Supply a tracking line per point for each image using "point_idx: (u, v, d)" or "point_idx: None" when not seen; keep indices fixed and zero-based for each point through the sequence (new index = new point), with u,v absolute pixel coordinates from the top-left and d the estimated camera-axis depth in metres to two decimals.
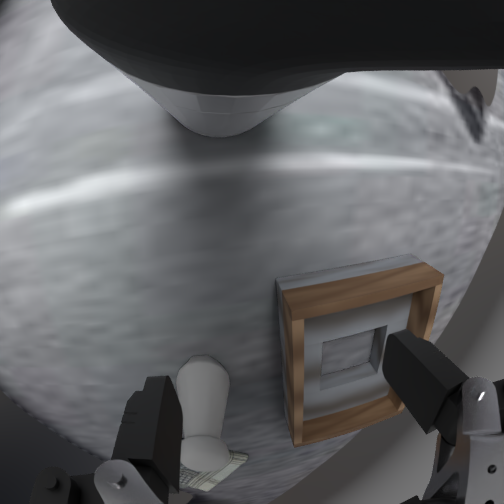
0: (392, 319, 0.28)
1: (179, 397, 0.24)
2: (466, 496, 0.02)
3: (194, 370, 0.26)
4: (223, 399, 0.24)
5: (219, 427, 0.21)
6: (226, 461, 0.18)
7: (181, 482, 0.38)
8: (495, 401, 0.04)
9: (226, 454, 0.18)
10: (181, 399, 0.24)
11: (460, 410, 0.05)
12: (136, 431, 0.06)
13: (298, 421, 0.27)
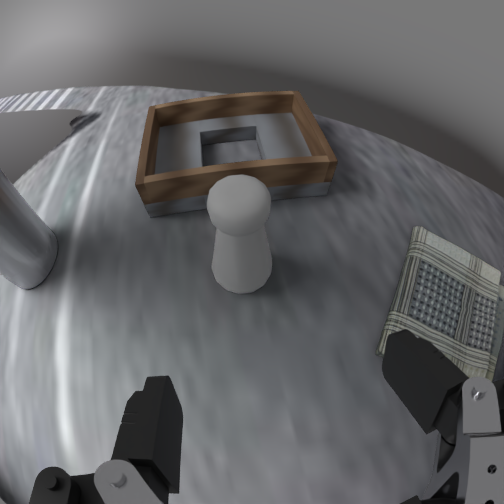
0: (195, 130, 0.37)
1: (234, 274, 0.23)
2: (466, 496, 0.02)
3: (213, 267, 0.26)
4: None
5: None
6: None
7: (492, 308, 0.25)
8: (495, 401, 0.04)
9: None
10: (228, 268, 0.23)
11: (460, 410, 0.05)
12: (136, 431, 0.06)
13: (280, 161, 0.29)
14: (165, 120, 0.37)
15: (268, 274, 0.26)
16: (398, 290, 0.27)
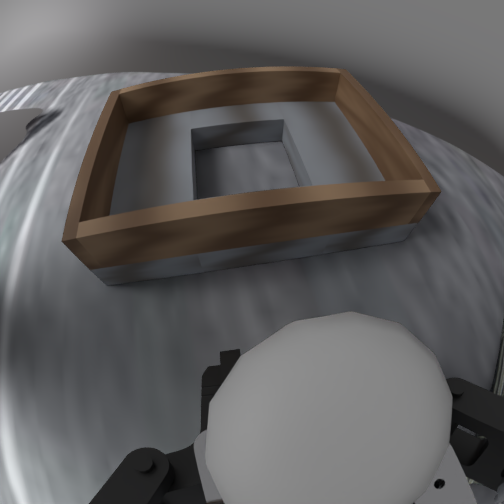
0: (184, 126, 0.22)
1: None
2: None
3: None
4: None
5: None
6: (338, 320, 0.04)
7: None
8: None
9: None
10: None
11: None
12: None
13: (351, 190, 0.14)
14: (136, 112, 0.22)
15: None
16: (497, 392, 0.12)
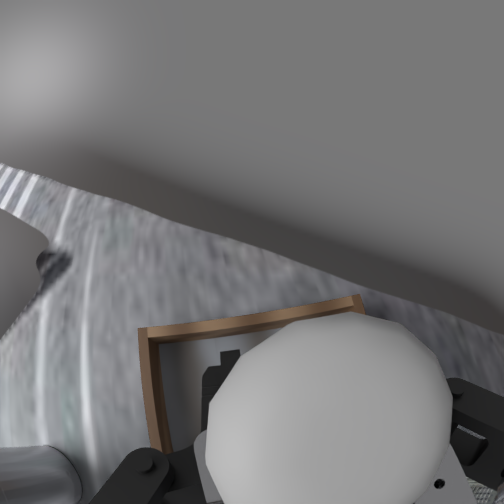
0: (211, 361, 0.27)
1: None
2: None
3: None
4: None
5: None
6: (338, 321, 0.04)
7: (489, 493, 0.15)
8: None
9: None
10: None
11: None
12: None
13: None
14: (165, 341, 0.27)
15: None
16: None
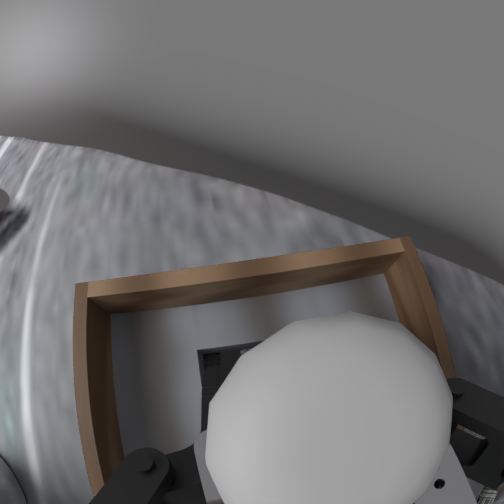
0: (187, 342, 0.17)
1: None
2: None
3: None
4: None
5: None
6: (338, 321, 0.04)
7: None
8: None
9: None
10: None
11: None
12: None
13: None
14: (118, 308, 0.17)
15: None
16: None
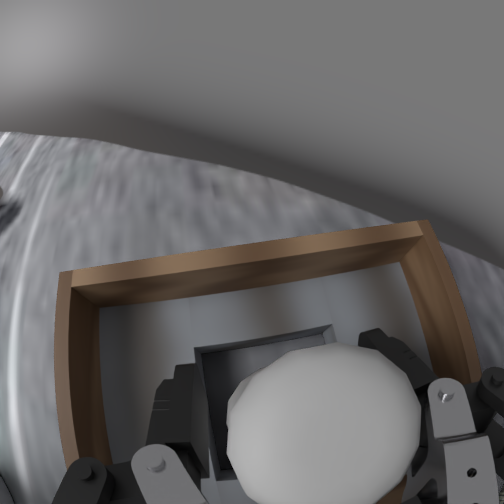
0: (182, 338, 0.15)
1: None
2: (448, 503, 0.02)
3: None
4: None
5: None
6: (327, 350, 0.05)
7: None
8: (463, 404, 0.05)
9: None
10: None
11: (428, 414, 0.05)
12: (171, 416, 0.06)
13: None
14: (106, 301, 0.15)
15: None
16: None
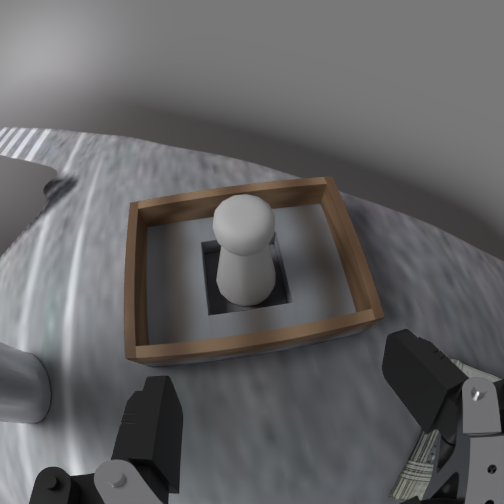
0: (195, 238, 0.30)
1: (239, 289, 0.24)
2: (466, 496, 0.02)
3: (218, 280, 0.27)
4: None
5: None
6: (242, 194, 0.20)
7: None
8: (495, 401, 0.04)
9: None
10: (233, 283, 0.24)
11: (460, 410, 0.05)
12: (136, 431, 0.06)
13: (313, 328, 0.22)
14: (154, 220, 0.30)
15: (272, 287, 0.27)
16: (422, 439, 0.20)
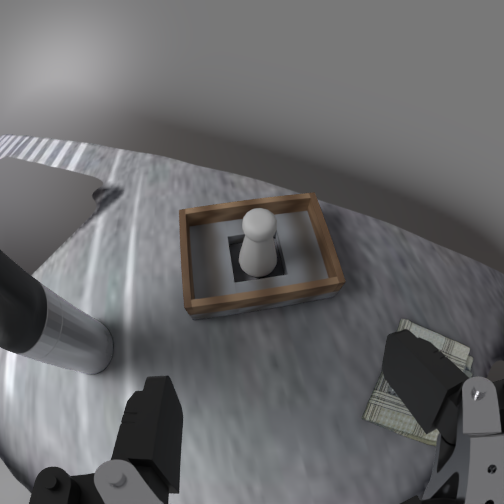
0: (223, 234, 0.45)
1: (254, 264, 0.40)
2: (466, 496, 0.02)
3: (240, 260, 0.42)
4: None
5: None
6: (258, 208, 0.35)
7: None
8: (495, 401, 0.04)
9: None
10: (251, 260, 0.39)
11: (460, 410, 0.05)
12: (136, 431, 0.06)
13: (300, 286, 0.37)
14: (194, 222, 0.45)
15: (274, 264, 0.42)
16: (382, 374, 0.36)
